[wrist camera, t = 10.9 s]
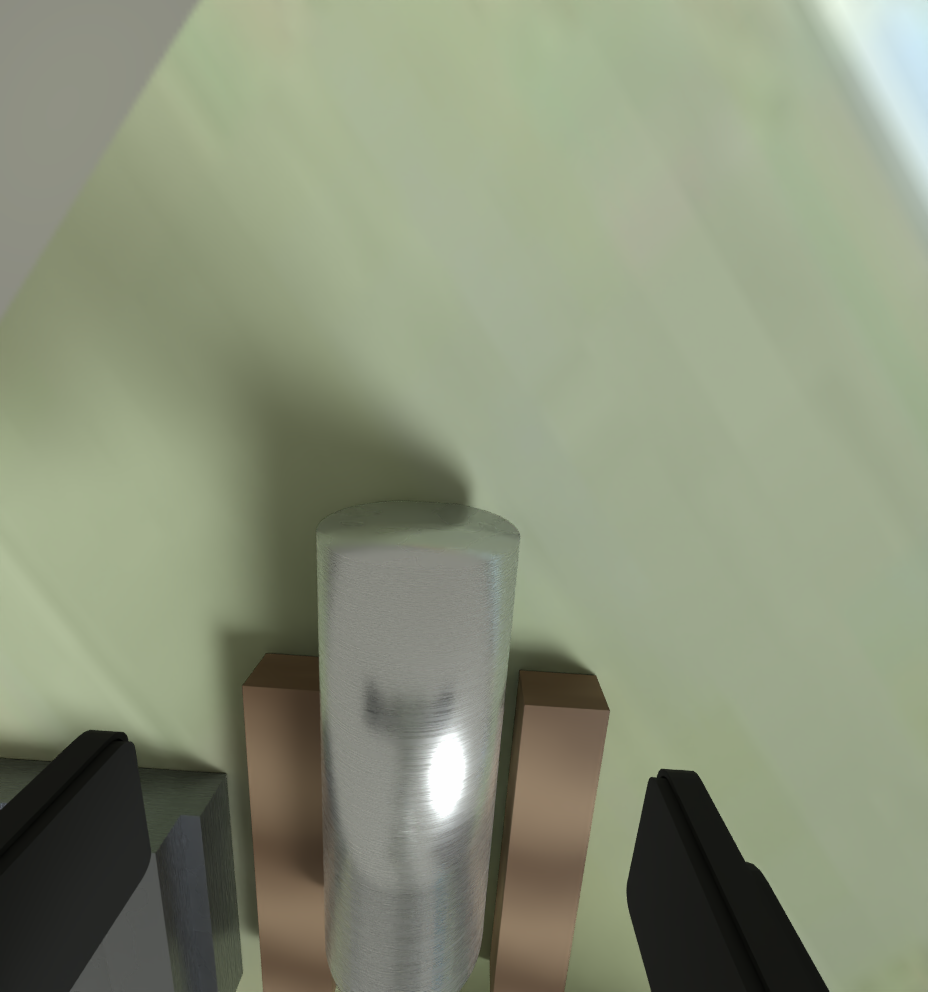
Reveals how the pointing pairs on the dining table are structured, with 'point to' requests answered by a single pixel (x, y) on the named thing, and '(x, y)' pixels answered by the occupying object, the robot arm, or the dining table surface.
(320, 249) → the dining table surface
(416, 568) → the axle
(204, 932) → the v block
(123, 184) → the dining table surface
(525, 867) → the wooden blocks
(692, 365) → the dining table surface
